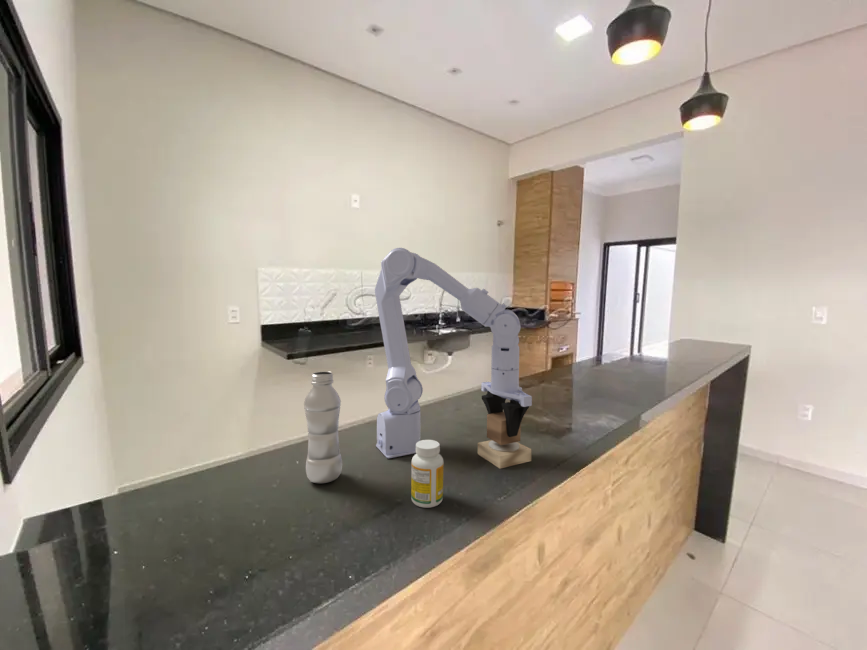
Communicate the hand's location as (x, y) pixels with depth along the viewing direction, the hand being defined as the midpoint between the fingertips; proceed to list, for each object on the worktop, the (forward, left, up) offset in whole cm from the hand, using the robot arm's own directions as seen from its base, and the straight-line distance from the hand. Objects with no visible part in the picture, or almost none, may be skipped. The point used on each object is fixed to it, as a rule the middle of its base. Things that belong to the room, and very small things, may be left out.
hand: (504, 431), depth 80 cm
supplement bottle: (-22, -8, -6) cm, 24 cm away
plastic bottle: (-36, +7, -6) cm, 37 cm away
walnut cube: (0, 0, -2) cm, 2 cm away
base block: (0, 0, -6) cm, 6 cm away
